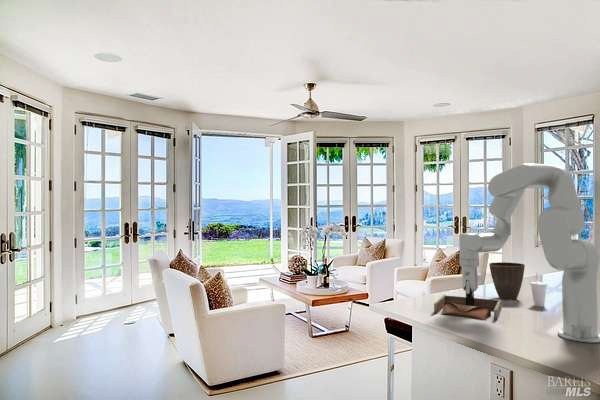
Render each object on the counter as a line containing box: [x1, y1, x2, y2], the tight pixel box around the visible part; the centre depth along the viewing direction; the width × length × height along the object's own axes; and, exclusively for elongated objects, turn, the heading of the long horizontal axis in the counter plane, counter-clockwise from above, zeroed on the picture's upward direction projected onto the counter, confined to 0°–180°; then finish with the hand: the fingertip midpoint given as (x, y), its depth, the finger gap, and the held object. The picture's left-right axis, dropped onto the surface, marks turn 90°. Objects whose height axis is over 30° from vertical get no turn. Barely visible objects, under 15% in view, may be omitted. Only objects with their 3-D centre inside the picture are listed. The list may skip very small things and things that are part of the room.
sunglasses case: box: [440, 303, 492, 321], centre depth 168 cm, size 18×7×7 cm
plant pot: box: [488, 261, 525, 301], centre depth 198 cm, size 15×15×16 cm
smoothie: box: [530, 272, 548, 307], centre depth 182 cm, size 6×6×14 cm
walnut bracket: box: [433, 294, 502, 322], centre depth 173 cm, size 19×23×4 cm
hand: (470, 306), depth 177 cm, fingers closed
